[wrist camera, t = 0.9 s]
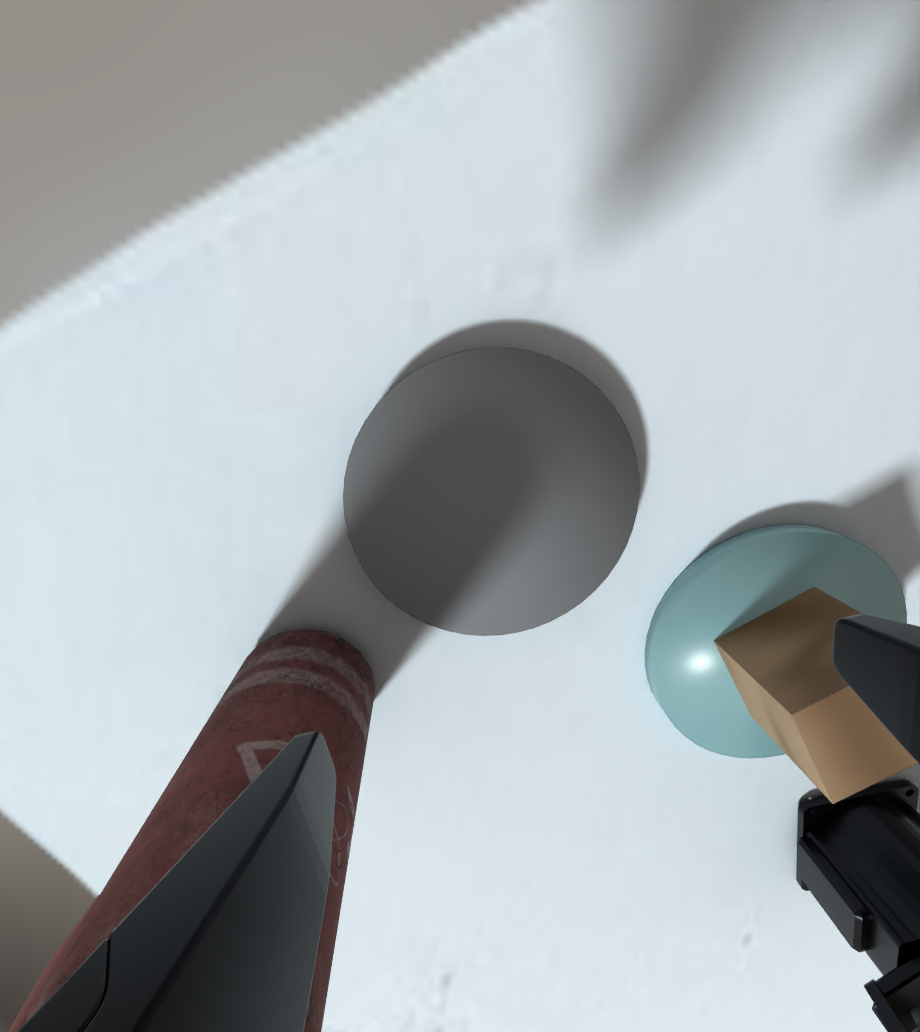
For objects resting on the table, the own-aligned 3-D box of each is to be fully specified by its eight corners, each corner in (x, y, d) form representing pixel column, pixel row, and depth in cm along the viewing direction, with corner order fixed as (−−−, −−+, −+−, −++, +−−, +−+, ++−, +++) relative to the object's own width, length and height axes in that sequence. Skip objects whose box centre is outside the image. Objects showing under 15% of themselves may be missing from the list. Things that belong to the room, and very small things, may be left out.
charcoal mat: (613, 321, 19) (625, 318, 18) (638, 592, 23) (649, 604, 21) (313, 382, 19) (305, 383, 18) (385, 645, 23) (383, 660, 21)
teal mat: (892, 500, 22) (918, 507, 21) (875, 714, 26) (896, 730, 25) (634, 553, 22) (646, 563, 21) (653, 761, 26) (664, 779, 24)
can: (240, 615, 22) (-61, 1016, 8) (382, 631, 22) (318, 1025, 9) (235, 728, 23) (-21, 1211, 10) (368, 739, 24) (296, 1205, 11)
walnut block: (814, 586, 22) (923, 648, 17) (846, 667, 23) (955, 744, 18) (713, 640, 22) (791, 715, 17) (750, 716, 24) (833, 804, 19)
